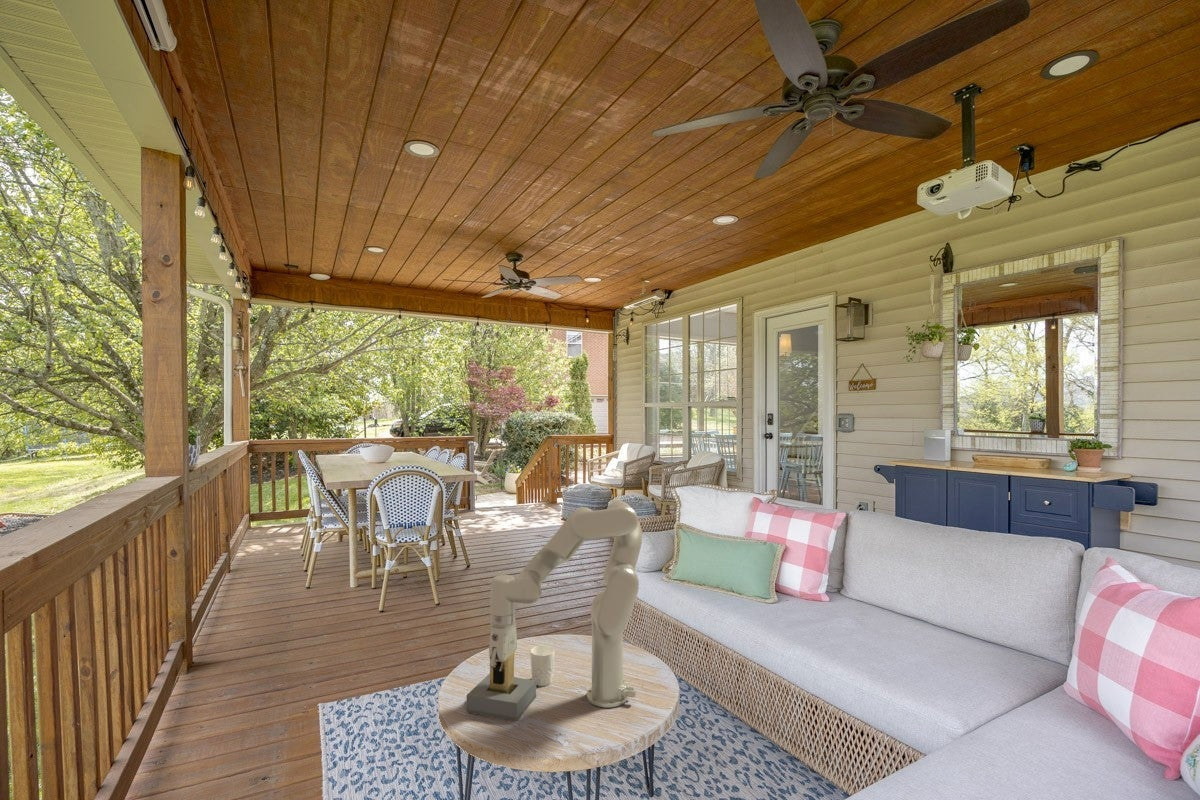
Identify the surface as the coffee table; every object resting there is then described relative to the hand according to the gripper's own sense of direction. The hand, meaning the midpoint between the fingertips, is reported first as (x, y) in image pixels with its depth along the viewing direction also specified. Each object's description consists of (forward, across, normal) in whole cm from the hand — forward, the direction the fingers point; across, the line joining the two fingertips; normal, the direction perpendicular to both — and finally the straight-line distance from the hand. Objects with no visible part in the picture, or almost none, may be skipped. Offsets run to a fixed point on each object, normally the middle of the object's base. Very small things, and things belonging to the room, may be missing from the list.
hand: (501, 679), depth 165 cm
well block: (+7, 0, 0) cm, 7 cm away
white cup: (+8, +17, -6) cm, 20 cm away
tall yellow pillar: (+4, 0, 0) cm, 4 cm away
